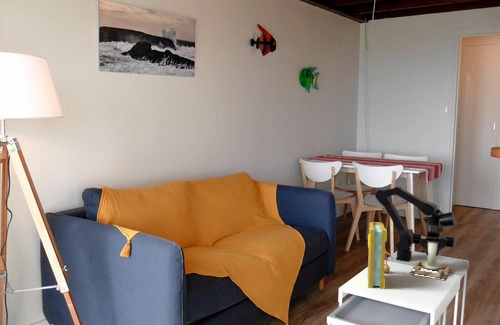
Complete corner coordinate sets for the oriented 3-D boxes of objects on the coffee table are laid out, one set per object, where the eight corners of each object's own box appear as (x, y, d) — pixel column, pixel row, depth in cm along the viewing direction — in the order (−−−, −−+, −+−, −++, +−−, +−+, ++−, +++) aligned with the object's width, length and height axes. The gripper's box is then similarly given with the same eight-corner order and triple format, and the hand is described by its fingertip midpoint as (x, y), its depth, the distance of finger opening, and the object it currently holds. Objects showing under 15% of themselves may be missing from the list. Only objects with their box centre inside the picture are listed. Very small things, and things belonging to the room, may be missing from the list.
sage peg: (423, 268, 222) (424, 243, 221) (426, 265, 227) (427, 241, 226) (436, 270, 218) (438, 245, 217) (439, 267, 224) (440, 242, 222)
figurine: (395, 273, 218) (396, 248, 217) (390, 276, 213) (391, 250, 213) (378, 269, 223) (379, 245, 222) (373, 272, 219) (374, 247, 218)
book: (384, 289, 197) (386, 230, 195) (368, 287, 198) (370, 229, 196) (381, 276, 213) (383, 222, 211) (366, 275, 215) (368, 221, 213)
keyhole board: (409, 274, 217) (410, 269, 217) (417, 265, 232) (418, 260, 232) (444, 280, 209) (444, 275, 209) (450, 270, 224) (450, 265, 224)
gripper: (413, 216, 228) (411, 244, 218) (455, 220, 221) (454, 248, 212) (413, 229, 236) (411, 256, 226) (453, 233, 229) (453, 261, 220)
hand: (432, 255), depth 221 cm, fingers closed on sage peg, 4 cm apart
